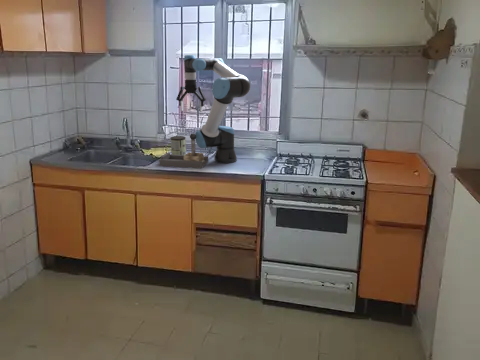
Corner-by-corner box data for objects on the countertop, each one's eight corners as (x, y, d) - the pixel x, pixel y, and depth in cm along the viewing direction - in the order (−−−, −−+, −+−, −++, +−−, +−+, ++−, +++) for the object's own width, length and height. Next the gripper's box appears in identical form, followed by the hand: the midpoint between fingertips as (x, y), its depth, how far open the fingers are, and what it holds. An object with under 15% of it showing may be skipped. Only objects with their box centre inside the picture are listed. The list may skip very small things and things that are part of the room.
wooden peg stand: (203, 160, 295) (202, 132, 290) (198, 164, 285) (197, 135, 280) (189, 159, 297) (188, 131, 292) (183, 163, 287) (182, 134, 282)
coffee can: (173, 155, 316) (172, 135, 313) (187, 155, 316) (186, 136, 312) (169, 158, 307) (168, 138, 303) (184, 159, 306) (183, 138, 302)
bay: (208, 162, 298) (208, 154, 296) (201, 168, 283) (201, 159, 281) (168, 160, 303) (168, 152, 302) (159, 165, 288) (159, 157, 287)
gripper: (170, 79, 297) (172, 111, 303) (206, 79, 292) (207, 112, 298) (174, 78, 304) (176, 109, 310) (210, 79, 299) (210, 110, 305)
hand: (191, 111), depth 304 cm, fingers open, 13 cm apart
